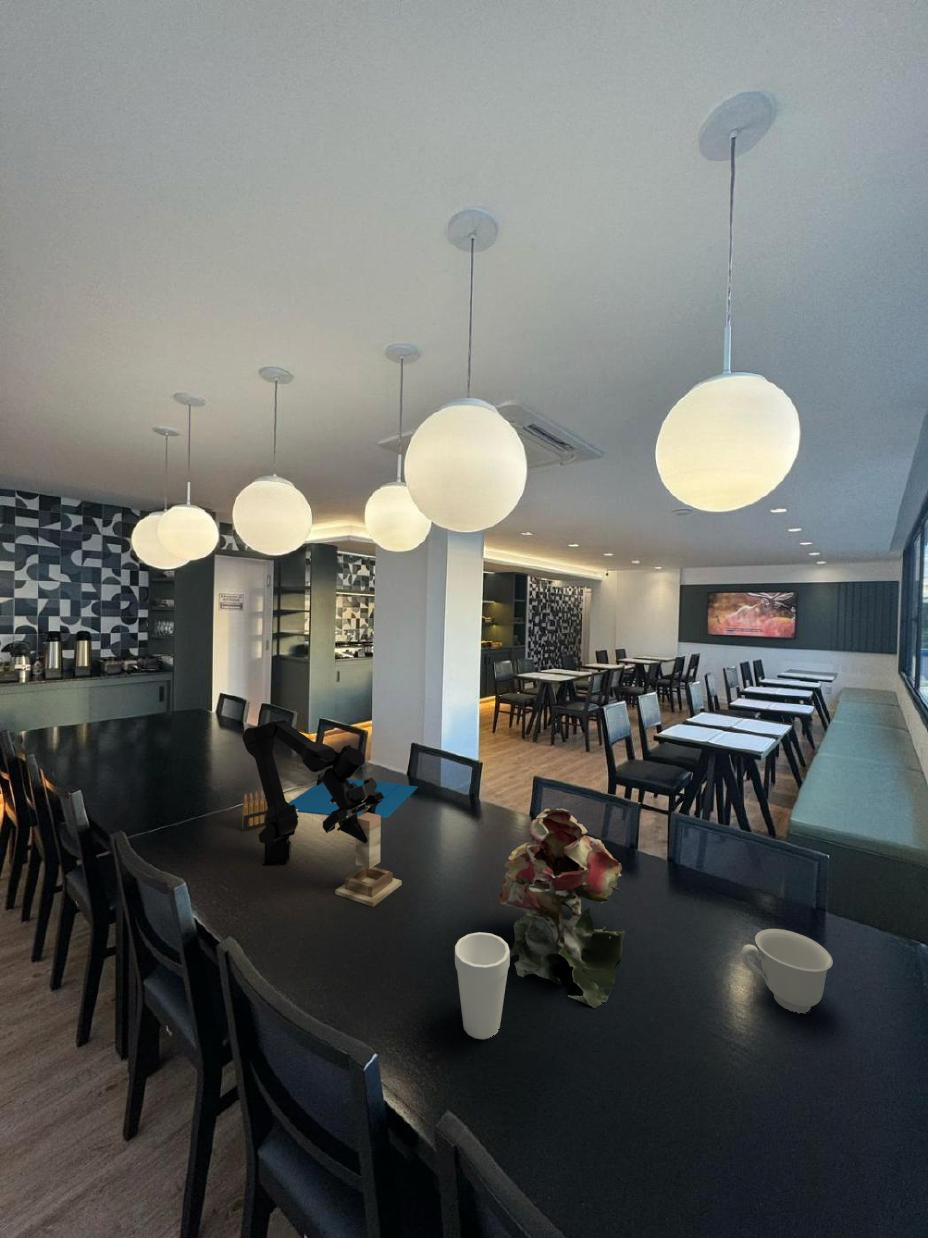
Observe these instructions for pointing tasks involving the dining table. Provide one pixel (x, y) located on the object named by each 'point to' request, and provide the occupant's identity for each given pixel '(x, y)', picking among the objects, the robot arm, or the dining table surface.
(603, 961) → the rose bouquet
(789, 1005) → the teacup
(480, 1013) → the foam cup
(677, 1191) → the dining table surface
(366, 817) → the birch post
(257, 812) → the ammunition clip
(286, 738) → the robot arm
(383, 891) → the socket stand
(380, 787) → the frame
